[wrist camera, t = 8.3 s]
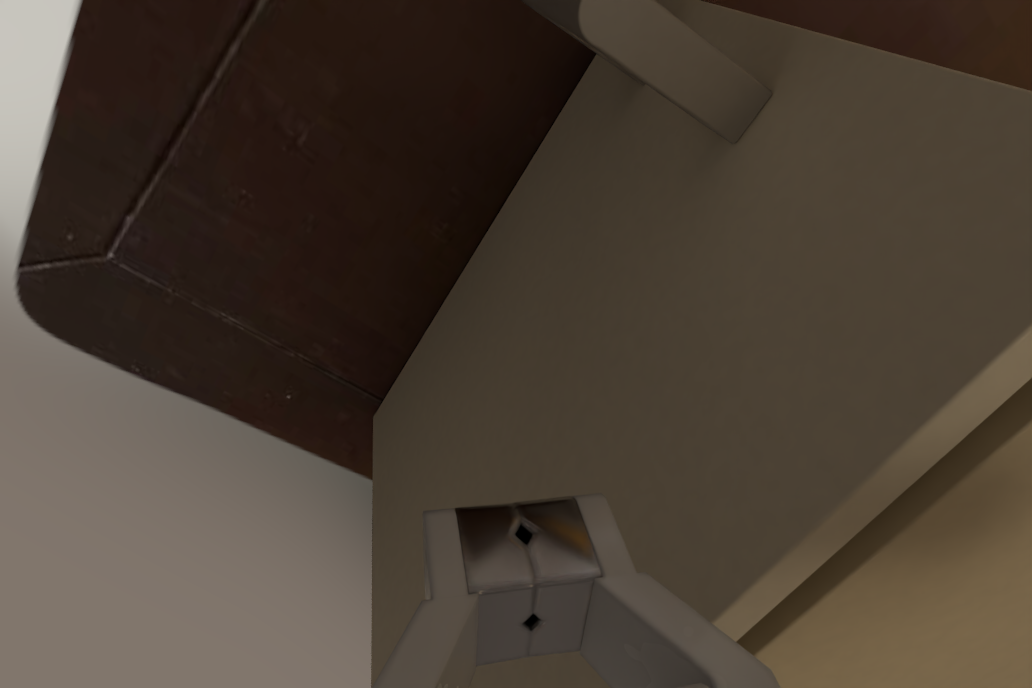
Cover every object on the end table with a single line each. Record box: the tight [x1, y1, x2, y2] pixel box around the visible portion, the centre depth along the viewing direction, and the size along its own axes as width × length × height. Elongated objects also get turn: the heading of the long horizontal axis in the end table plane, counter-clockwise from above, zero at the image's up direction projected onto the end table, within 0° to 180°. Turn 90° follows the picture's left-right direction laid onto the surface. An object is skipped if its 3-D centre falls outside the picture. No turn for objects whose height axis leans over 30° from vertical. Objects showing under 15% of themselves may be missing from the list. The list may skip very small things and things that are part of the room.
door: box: [371, 0, 1032, 688], centre depth 22 cm, size 7×26×24 cm, turn 148°
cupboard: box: [736, 378, 1032, 688], centre depth 28 cm, size 18×26×24 cm
